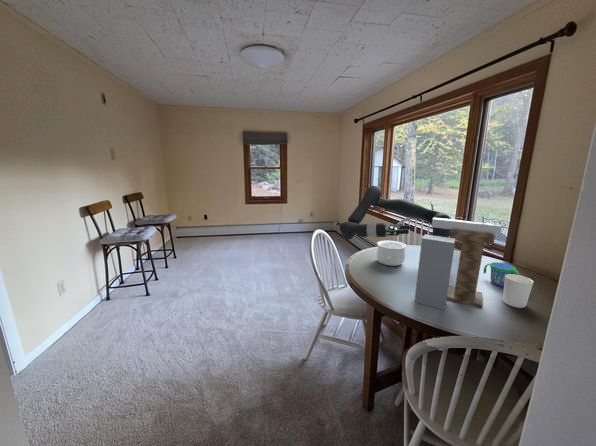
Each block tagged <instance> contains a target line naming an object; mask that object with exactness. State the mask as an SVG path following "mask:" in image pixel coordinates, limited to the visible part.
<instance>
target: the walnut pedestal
mask: <svg viewBox="0 0 596 446" xmlns="http://www.w3.org/2000/svg"><path fill="white" fill-rule="evenodd" d="M495 236H496V235H490V234H482V233H475V232H467V231H459V230H451V231H450V236H449V238H455V240H462V241H461V248H460V255H459V259H458V260H459V261H458V267H457V272H456V280H455V285H450V284H449V286H448V293H447V300H446V301H452V302H455V303H460V304H463V305H467V306H471V307H474V308H479V309H483V292H480V291H477V287H478V282H479V281H478V280H479V276H480V270H481V264H482V259H483V253H484V246H485V244H491V245H494V242H495V239H496V238H495Z"/></svg>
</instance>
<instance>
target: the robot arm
mask: <svg viewBox="0 0 596 446" xmlns="http://www.w3.org/2000/svg"><path fill="white" fill-rule="evenodd" d="M371 206H372V207H376V208H380V209H382V210H383V209H384V210H387V211H390V212H394V213H396V214H398V215H401V216H403V217H406V218H411V219H416V220H422V221H424V222H427V223H428V224H431V225H432V221H433V218H444V219H452V218H451V217H450V216H449V215H448V214H446V213H445V212H443V211H442V212H441V211H437V210H433V209H429V208H426V207H424V206H422V205H420V204H418V203H415V202H412V201H410V200H408V199H404V198H403V199H402V198H401V199H399V198H396V199H395V198H394V199H389V198H384V197H382V189H381V188H380V187H379V186H378V185H370V186H369V187H367V189H366V191H365V193H364V195H363V197H362V200H360V202H359V203H358V205H357V206H356V208H355V209H354V210H353V211H352V213H351V214H350V216H349V217H348V219H347V221H344V222H342V223H340V225H339V226H338V227H339V231H340V234H341V237H342V238H343V239H344V240H346V241H350V240H352V239H353V238H354V237H355V236H356V235H357V236H358V237H359V238H386V237H388V236H389V237H391V236H392V237H394V236H396V237H398V236H400V235H408V234H409V232H410V231H409V230H411V225H410V224H409V225H407V224H405V225H403V224H401V223H400V224H398V223H397V224H389V226H387V223H386V222H377V223H376V222H375V223H374V222H373V223H361V222H362V221H363V219H364V218H365V217H366V215H367V213H368V211H369V209H370V208H371ZM450 231H451V229H443V228H435V227H432V232H431V234H430V235H434V236H441V237H448V238H449V237H450Z"/></svg>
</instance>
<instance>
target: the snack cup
mask: <svg viewBox="0 0 596 446" xmlns="http://www.w3.org/2000/svg"><path fill="white" fill-rule="evenodd" d="M488 266H489V267H490V282H491V283H492V284H493V285H496V286H499V287H504V282H505V275H507V274H515V275H520V276H521V274H520V272H519V271H518V270H517V268H516V267H515V266H513V265H511V264H508V263H503V262H498V261H497V262H496V261H493V262H490V263H487V264H486V265H484V267H483V274H486V273H487V267H488Z"/></svg>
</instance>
